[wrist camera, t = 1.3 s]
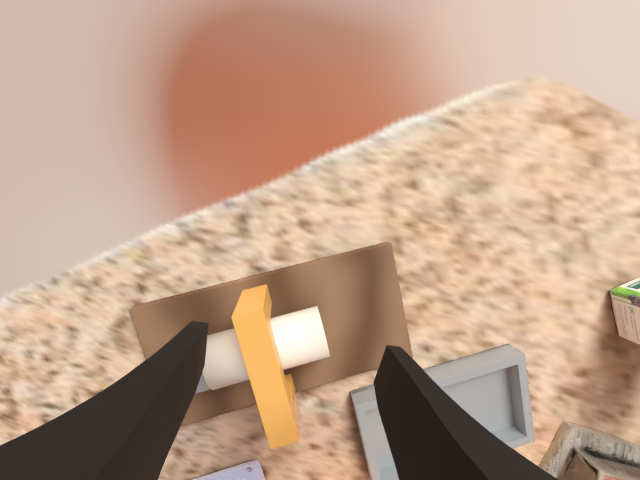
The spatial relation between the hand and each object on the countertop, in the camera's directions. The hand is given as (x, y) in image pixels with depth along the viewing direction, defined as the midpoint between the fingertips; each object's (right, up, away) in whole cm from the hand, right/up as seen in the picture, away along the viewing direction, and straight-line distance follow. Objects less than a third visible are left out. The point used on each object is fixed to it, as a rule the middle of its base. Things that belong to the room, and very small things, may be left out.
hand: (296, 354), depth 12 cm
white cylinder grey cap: (-3, -4, +13) cm, 14 cm away
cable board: (-2, -3, +15) cm, 15 cm away
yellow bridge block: (-3, -4, +13) cm, 14 cm away
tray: (+13, -12, +18) cm, 25 cm away
